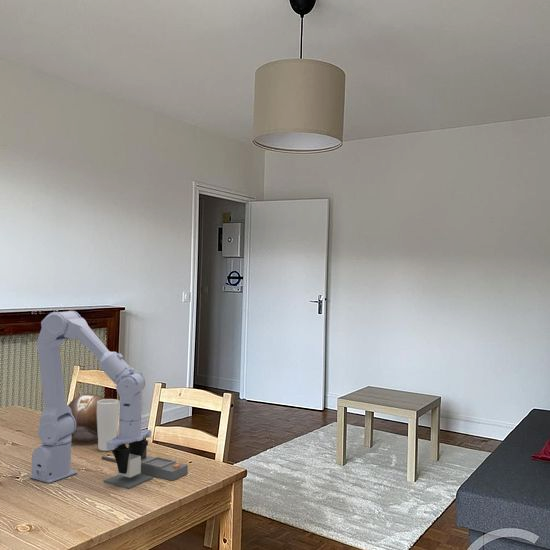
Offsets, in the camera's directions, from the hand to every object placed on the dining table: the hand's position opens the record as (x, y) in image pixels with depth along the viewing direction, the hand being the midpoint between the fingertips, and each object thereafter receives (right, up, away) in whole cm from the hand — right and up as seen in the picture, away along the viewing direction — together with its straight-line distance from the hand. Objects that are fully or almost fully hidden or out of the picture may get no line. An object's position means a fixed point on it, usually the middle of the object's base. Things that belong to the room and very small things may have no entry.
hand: (128, 470), depth 147 cm
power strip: (0, -3, +10) cm, 10 cm away
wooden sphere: (-23, -3, +36) cm, 43 cm away
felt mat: (0, -3, 0) cm, 2 cm away
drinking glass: (-14, -3, +27) cm, 30 cm away
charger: (0, -1, 0) cm, 1 cm away
